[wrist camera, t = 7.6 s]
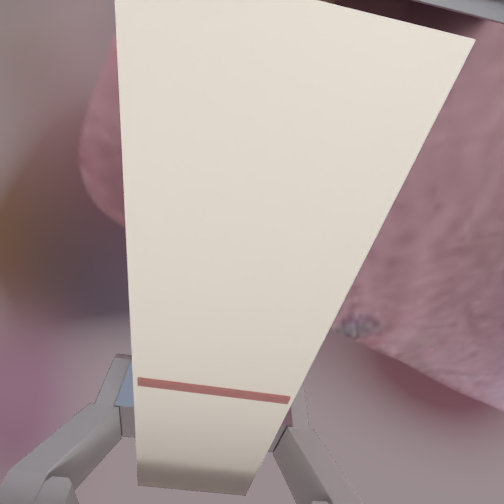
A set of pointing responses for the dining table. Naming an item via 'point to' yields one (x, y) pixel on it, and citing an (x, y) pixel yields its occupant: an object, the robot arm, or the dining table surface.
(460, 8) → the block
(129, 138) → the white slab
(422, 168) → the dining table surface
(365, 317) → the dining table surface
